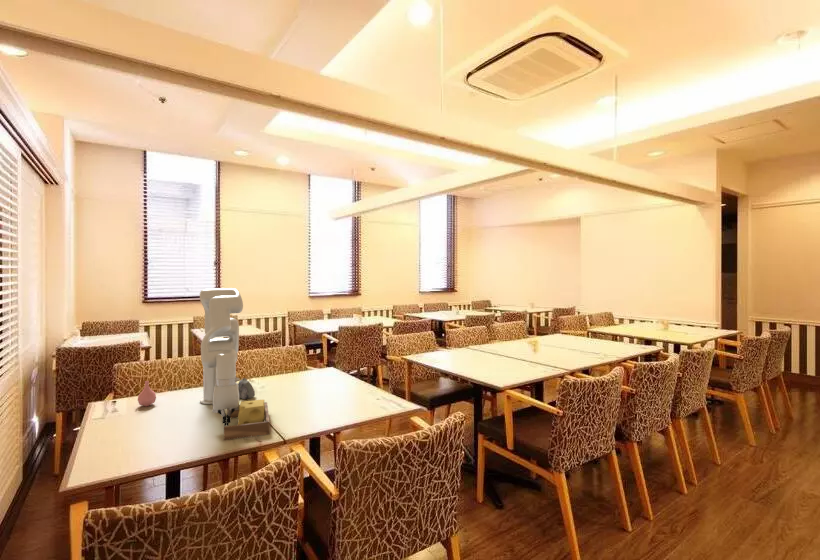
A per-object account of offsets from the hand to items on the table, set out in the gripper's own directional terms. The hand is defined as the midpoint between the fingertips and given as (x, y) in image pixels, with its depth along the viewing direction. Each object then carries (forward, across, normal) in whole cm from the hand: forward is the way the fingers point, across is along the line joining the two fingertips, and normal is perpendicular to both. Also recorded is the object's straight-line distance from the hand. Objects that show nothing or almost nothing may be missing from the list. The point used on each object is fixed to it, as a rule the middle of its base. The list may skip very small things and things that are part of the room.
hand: (226, 424), depth 171 cm
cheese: (+2, -10, +2) cm, 10 cm away
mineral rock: (+2, -7, -44) cm, 45 cm away
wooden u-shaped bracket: (+2, -8, 0) cm, 8 cm away
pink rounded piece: (+2, +37, -46) cm, 59 cm away
